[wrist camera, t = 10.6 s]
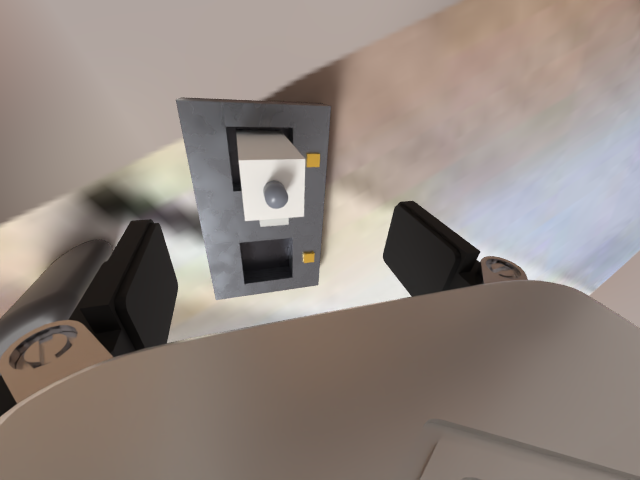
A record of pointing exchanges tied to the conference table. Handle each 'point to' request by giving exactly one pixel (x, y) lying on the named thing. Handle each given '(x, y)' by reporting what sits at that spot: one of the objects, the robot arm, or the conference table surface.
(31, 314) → the leaning round-cornered charcoal block
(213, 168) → the panel
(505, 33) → the conference table surface
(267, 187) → the plug
